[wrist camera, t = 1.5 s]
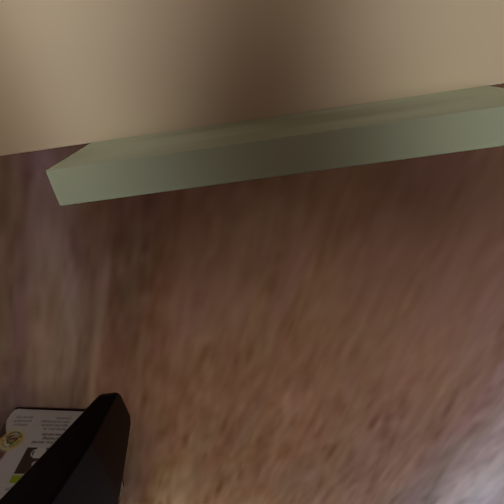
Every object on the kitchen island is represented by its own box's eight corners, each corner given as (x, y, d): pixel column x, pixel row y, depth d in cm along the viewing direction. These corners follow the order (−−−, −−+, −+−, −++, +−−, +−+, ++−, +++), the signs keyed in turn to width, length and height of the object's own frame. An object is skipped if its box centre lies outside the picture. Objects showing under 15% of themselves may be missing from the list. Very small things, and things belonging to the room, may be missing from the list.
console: (466, -123, 12) (1145, -647, 3) (444, 72, 14) (758, 111, 6) (40, -49, 12) (-460, -288, 4) (97, 123, 15) (-109, 229, 6)
